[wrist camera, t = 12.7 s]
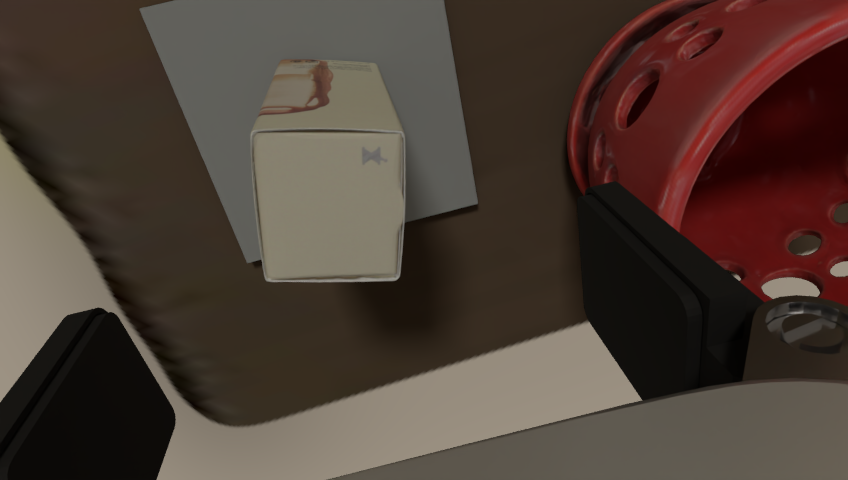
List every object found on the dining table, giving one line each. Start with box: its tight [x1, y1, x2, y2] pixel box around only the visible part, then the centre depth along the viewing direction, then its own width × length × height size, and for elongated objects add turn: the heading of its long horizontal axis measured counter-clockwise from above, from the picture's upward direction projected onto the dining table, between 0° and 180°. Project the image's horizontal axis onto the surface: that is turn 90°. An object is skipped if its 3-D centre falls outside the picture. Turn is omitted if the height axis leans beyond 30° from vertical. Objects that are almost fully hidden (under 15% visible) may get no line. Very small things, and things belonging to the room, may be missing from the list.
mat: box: [139, 0, 478, 263], centre depth 25 cm, size 12×12×1 cm
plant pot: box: [567, 0, 848, 306], centre depth 22 cm, size 13×13×12 cm
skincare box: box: [250, 59, 406, 282], centre depth 20 cm, size 5×4×10 cm
